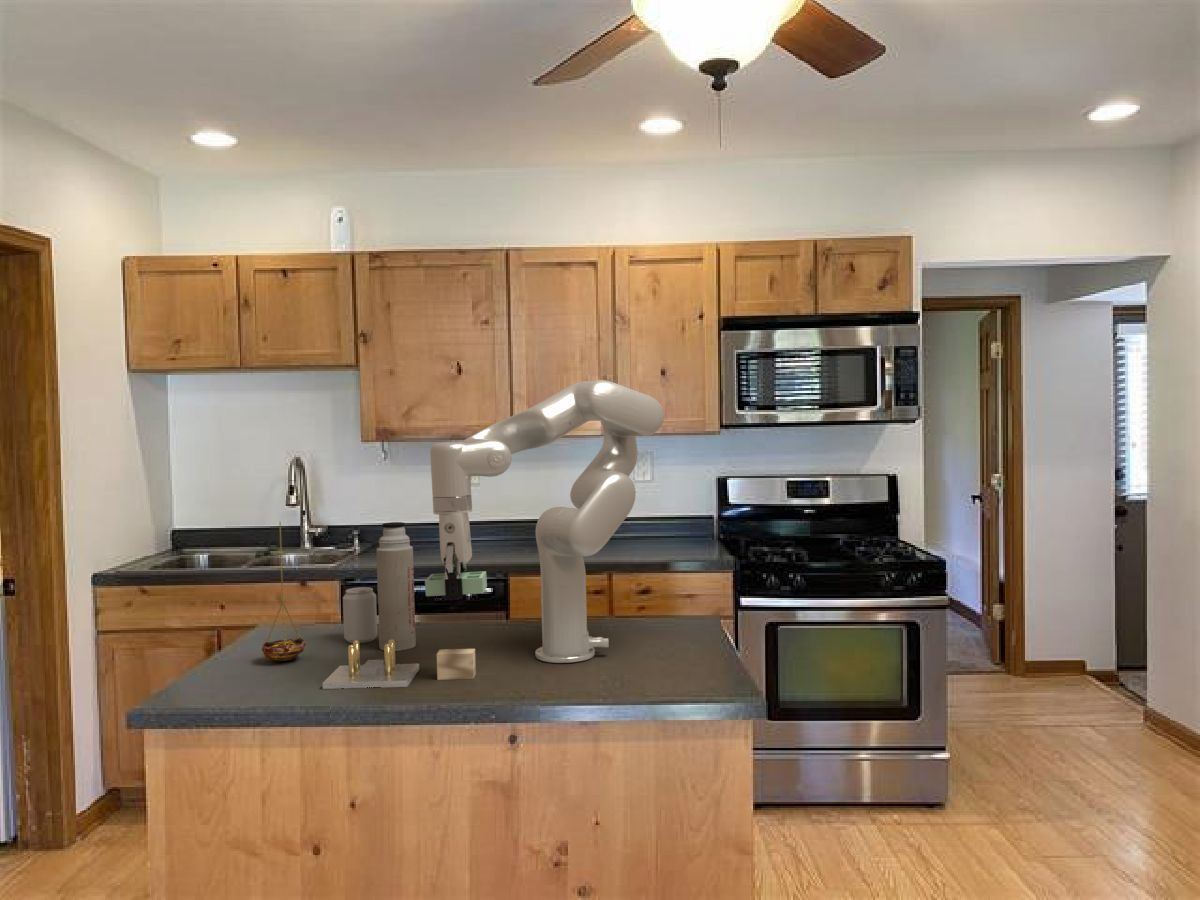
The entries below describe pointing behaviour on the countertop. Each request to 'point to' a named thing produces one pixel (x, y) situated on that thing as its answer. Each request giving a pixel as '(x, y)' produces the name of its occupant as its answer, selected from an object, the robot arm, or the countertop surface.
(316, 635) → the countertop surface
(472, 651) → the block
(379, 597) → the thermos bottle
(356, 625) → the can
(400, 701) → the countertop surface
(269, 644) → the bird feeder
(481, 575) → the board
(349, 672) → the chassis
